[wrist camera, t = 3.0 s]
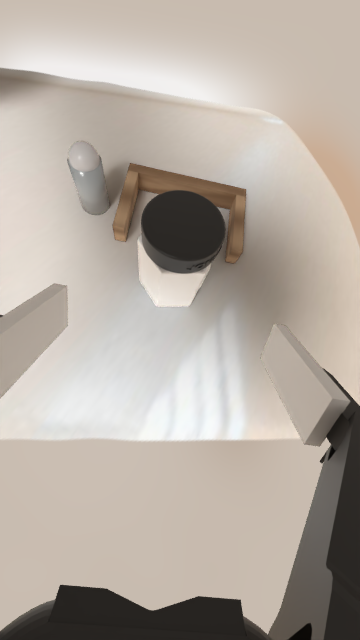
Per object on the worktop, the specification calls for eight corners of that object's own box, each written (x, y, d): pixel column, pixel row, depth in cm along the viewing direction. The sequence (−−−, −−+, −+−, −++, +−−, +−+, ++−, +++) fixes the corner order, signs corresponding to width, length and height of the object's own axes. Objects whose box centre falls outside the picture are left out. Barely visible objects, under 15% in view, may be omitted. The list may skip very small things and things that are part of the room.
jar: (183, 321, 32) (204, 279, 21) (130, 293, 32) (122, 237, 21) (209, 270, 35) (240, 209, 24) (160, 245, 35) (167, 173, 24)
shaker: (79, 195, 36) (59, 133, 28) (106, 192, 37) (94, 130, 29) (84, 216, 35) (65, 159, 27) (112, 212, 36) (101, 155, 28)
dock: (234, 263, 36) (242, 252, 33) (115, 239, 35) (112, 225, 32) (239, 204, 40) (246, 189, 37) (131, 180, 38) (130, 162, 36)
